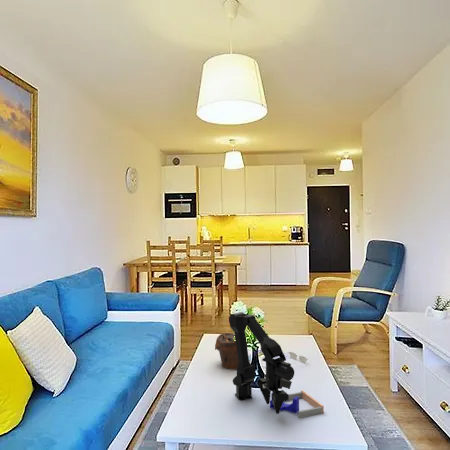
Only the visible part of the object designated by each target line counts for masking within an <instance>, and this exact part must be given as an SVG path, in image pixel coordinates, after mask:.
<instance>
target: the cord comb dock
mask: <svg viewBox="0 0 450 450" xmlns="http://www.w3.org/2000/svg"><path fill="white" fill-rule="evenodd" d="M287 394H288V395H289V400H287V401H293V398H295V397H299V399H304V401H306V402H307V403H308V404H310V405H311V406H312V407H311V408H307V409H303V410H302V409H301V410H299V411H298V412H297V418H299V419H301V418H306V417H311V416H315V415H319V414H323V413H324V412H325V409H324V404H321V403H320V402H319V401H318V400H317V399H315V398H314V397H313V396H311V395H310V394H308V393H307V392H306V391H305V390H303V389H302V390H300V391H298V392H293V393H287ZM287 401H286V402H287Z"/></svg>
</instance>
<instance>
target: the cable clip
mask: <svg viewBox="0 0 450 450" xmlns="http://www.w3.org/2000/svg"><path fill="white" fill-rule="evenodd" d="M272 393H273V392H272V391H271V393H270V403H269V408H271V409H274V410H275V408H274V405H273V402H272ZM280 411H281V412H283V411H287V412H290V413H293V414H298V411H300V398H299V397H295V398H293V400H292V403H289V404H288V403H285V402H283V403H282V406H281V409H280Z"/></svg>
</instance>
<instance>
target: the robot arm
mask: <svg viewBox="0 0 450 450" xmlns="http://www.w3.org/2000/svg"><path fill="white" fill-rule="evenodd" d="M228 323H229V326H230V329H231V330H232V331H233V332H234V333H233V334H235V340H236V347H237V354H238V361H239V364H238V367H237V369H236V375H235V377H234V378H233V379H232V383H233V385H234V386H235V391H236V392H235V393H234V395H235V397H236V398H237V399H238V400H239V401H243V400H248V399H252V398H253V394H252V393H253V389H252V384H253V383H254V381H255V379H256V374H257V373H256V370H255V365H252V364H251V362H250V357H249V353H248V352H249V351H248V346H247V344H248V343H246V329H247V328H248V329H249V330H250V332H251V333H252V335H253V336H254V338H255V339H256V340H257V341H258V343H259V345H260V351H261V352H262V354H263V357H264V358H262V360H261V361H262V362H265V374H264V378H259V379H257V386H258V388H259V390H260V392H261V394H262V396H263V399H264V401H265V404H266V405H270V401H271V393H272V392H273V393H272V402H273V405H274V408H275V409H274V411H275V414H277V415H278V414H280V409H281V406H282V403H285V402H287V400H288V401H290V400H289V395H288V394H289V393H287V391H285V390H284V389H283V388H285V389H288V390H290V389H291V386H292V383H293V381H291V380H293V378H294V376H295V370H294V367H293V366H292V363H290V362H287V358H286V354H285V353H284V352H283V350H282V347H281V345H280V344H279V343H278V342H277V341H276V340H275V339H273V338H271V337H270V336H269V335H268V334H267V333H266V331H265V329H263V327H262V326H261V324H260V323H259V321H258V320H257V319H256V316H255V314H250V313H244V312H243V311H240V312H236V313H235V312H234V313H231V314H230V315H229V317H228ZM277 357H278V358H277ZM280 389H281V390H280Z"/></svg>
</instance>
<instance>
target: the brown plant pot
mask: <svg viewBox="0 0 450 450" xmlns="http://www.w3.org/2000/svg"><path fill="white" fill-rule="evenodd" d="M234 336H235V333H228V332H224V333H221V334H219V335H218V336H217V337H216V340H215V345H214V350H215V351H218V354H219V357H220V362H221V365H222V367H224V368H225V369H228V370H237V367H238V364H239V361H238V354H237V347H236V341H234V340H233V338H234Z"/></svg>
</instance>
